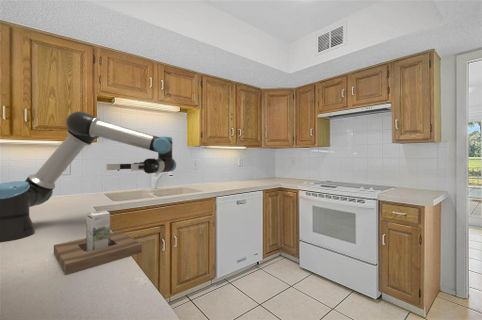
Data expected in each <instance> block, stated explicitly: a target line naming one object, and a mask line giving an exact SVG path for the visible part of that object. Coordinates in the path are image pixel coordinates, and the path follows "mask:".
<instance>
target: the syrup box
mask: <svg viewBox="0 0 482 320" xmlns="http://www.w3.org/2000/svg"><path fill="white" fill-rule="evenodd" d="M85 215H86V225H85V227H86V231H85V232H86V236H85V237H86V251H85V252H89V251H93V250H97V249H101V248H105V247H109V246H110V233H111V213H110V212H109V211H107V210H99V211H94V212H93V211H92V212H87V213H86V214H85Z"/></svg>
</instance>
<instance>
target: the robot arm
mask: <svg viewBox="0 0 482 320" xmlns="http://www.w3.org/2000/svg"><path fill="white" fill-rule="evenodd" d="M65 121H66V122H65V125H66V127H67V129H68V130H67V131H66V133H67V137H65V139H64V140H63V141H62V142H61V143H60V145H58V147H57V148H56V149H55V151H54V152H53V153H52V154H50V156H49V157H48V159H47V160H46V161H45V162H44V164H42V166H41V167H40V168H39V169H38V170H37V172H36V173H34V174H29V176H28V177H27V178H26V179H25V180H15V181H9V182H7V181H5V182H1V183H0V242H7V241H8V242H9V241H14V240H19V239H22V238H23V239H24V238H26V237H29V236H32V235H34V234H35V230H36V229H35V226H34V223H33V222H32V221H33V220H32V219H31V216H30V208H31V207H35V206H39V205H43V204H44V203H45V202H48V201H49V200H50V199H51V197H52V196H53V192H54V191H53V190H54V189H55V188H56V181H58V180H59V178H60V177H61V175H62V174H63V173H64V172H65V171H66V170H67V168H68V166H70V164H71V163H72V162H73V161H74V160H75V159H76V158H77V156H79V154H80V153H81V152H82V150H83V149H84V148H85V146H90V145H92V143H93V142H94V141H95V139H99V138H103V139H106V140H110V141H114V142H118V143H121V144H125V145H128V146H132V147H136V148H139V149H140V148H141V149H144V150H147V151H151V152H156V153H158V155H157V157H156V158H155V157H153V158H146V159H144V161H140V162H133V163H106V171H117V172H119V171H120V170H131V172H133V171H135V172H136V171H144V172H145V173H146V174H148V175H150V174H156V175H158V174H160V173H169V172H174V170H175V169H176V168H177V162H176V160H175V159H174V158H173V138H172V137H171V136H156V135H153V134H149V133H146V132H142V131H139V130H135V129H132V128H130V127H129V128H128V127H125V126H122V125H119V124H118V125H117V124H114V123H111V122H107V121H104V120H101V119H100V118H99V117H98V116H95V115H92V114H90V113H88V112H85V111H74V112H72V113H71V114H69V115H68V117H66V120H65Z"/></svg>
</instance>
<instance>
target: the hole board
mask: <svg viewBox="0 0 482 320" xmlns="http://www.w3.org/2000/svg"><path fill="white" fill-rule="evenodd" d="M142 246H143V244H142V243H141V242H139V241H138V240H136V239H134V238H132V237H131V236H129V235H127V234H125V233H124V231H123V232H122V231H121V230H119V231H118V230H117V231H113V232H110V246H109V247H105V248H101V249H97V250H93V251H89V252H86V238H80V239H76V240H71V241H67V242H61V243H56V244H53V255H54V257H55V258H56V261H58V264H59V266H60V267H61V269H62V271H63V273H64V275H69V274H73V273H75V272H79V271H83V270H87V269H89V268H93V267H96V266H101V265H103V264H107V263H110V262H113V261H118V260H120V259H124V258H127V257H131V256H134V255H137V254H142V253H143V250H142V249H143V247H142Z"/></svg>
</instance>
